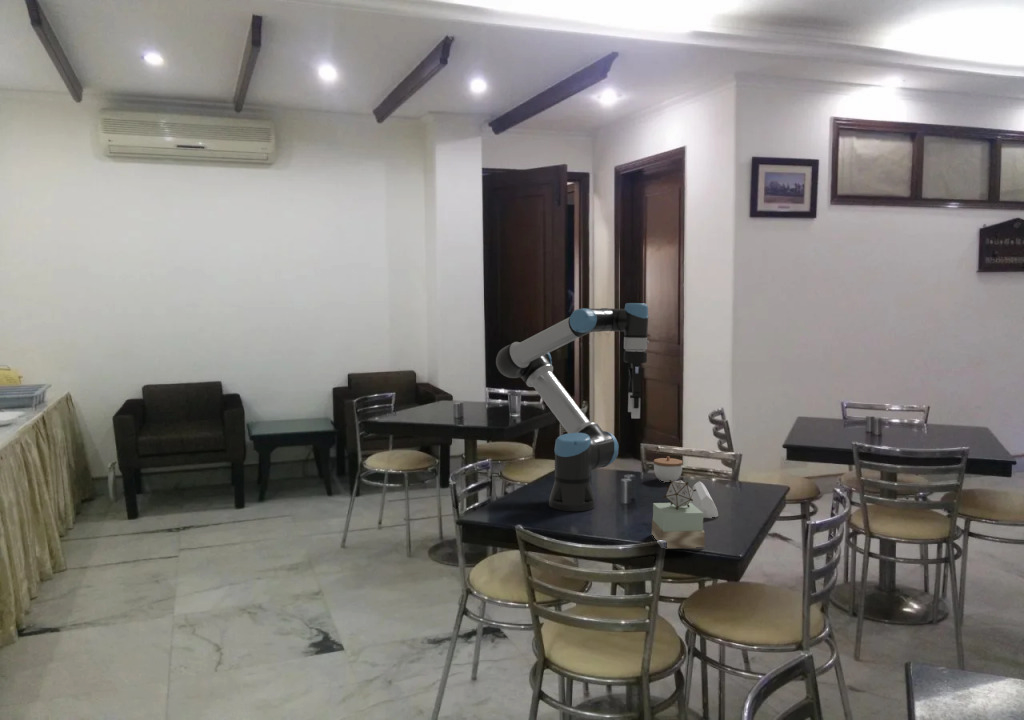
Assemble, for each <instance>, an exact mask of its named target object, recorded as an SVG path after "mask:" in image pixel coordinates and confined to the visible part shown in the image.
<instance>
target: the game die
mask: <svg viewBox="0 0 1024 720" xmlns="http://www.w3.org/2000/svg"><path fill="white" fill-rule="evenodd" d="M669 481H670V482H671V483H669V485H668V486H666V489H667V491H666V493H665V495H663V496H662V498H664V499H665V498H666V499H667V500H668V501H669V503H671V505H672V504H674V505H675V506H676V507H677V508H676V509H677V510H678V507H681V506H686V505H687V506H688V507H690V506H689V505H688V504H689V502H690V500H691V501H693V499H691V498H692V495H693V492H694V491H696V490H693V489H692V488H693V487H691V486H690V485H689V481H687V482H685V481H684V480H683V477H680V480H679V479H678V480H676V481H674V482H672V481H671V480H669Z"/></svg>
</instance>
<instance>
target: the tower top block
mask: <svg viewBox="0 0 1024 720" xmlns="http://www.w3.org/2000/svg"><path fill="white" fill-rule="evenodd" d="M688 505H689V506H690V507H688V506H687V505H686V506H681V507H678V510H677V509H676V508H677V507H676V506H675V505H674V504H672V505H671V502H653V503H652V519H653V521H654V522H655V523H656V524H657V525H658V526H659V527H660V528H661V529H662V531H663V532H671V531H703V530H704V518H703V512H702V511H700V510H699V509H698V508H697V507H696V506H694V505H693V504H692V503H689V504H688Z"/></svg>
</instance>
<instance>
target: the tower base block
mask: <svg viewBox="0 0 1024 720" xmlns="http://www.w3.org/2000/svg"><path fill="white" fill-rule="evenodd" d="M705 534H706V532H705V530H704V529H703V531H671V532H663V531H662V529H661V528H660V527H659V526H658V525H657V524H656V523H655V522H654V521H653V518H652V519H651V536H652V535H653V536H654V538H655V539H656V540H666V542H667V548H666V549H697V548H696V547H704V548H705V542H706V540H705V539H706V538H705V537H706V535H705ZM653 536H652V537H653ZM654 538H653V539H654ZM655 539H654V540H655Z"/></svg>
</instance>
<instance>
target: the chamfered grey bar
mask: <svg viewBox="0 0 1024 720" xmlns="http://www.w3.org/2000/svg"><path fill="white" fill-rule="evenodd" d="M691 488H692V489H693V490H696V491H694V492H693V495H692V498H691V499H693V501H691V500H690V502H689V503H692V504H693V505H694V506H696V507H697V508H698V509H699V510H700V511H702V512H703V519H713V518H712V517H715V518H717V517H719V512H718V508H717V507H716V504H715V502H714V500H713V498H712V496H711V495H710V493H709V490H708V489H707V487H706V485H705V484H704V483H703V482H702V481H700V480H699V481H697V482H696V483H695V484H694V485H693V486H692V487H691Z"/></svg>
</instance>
